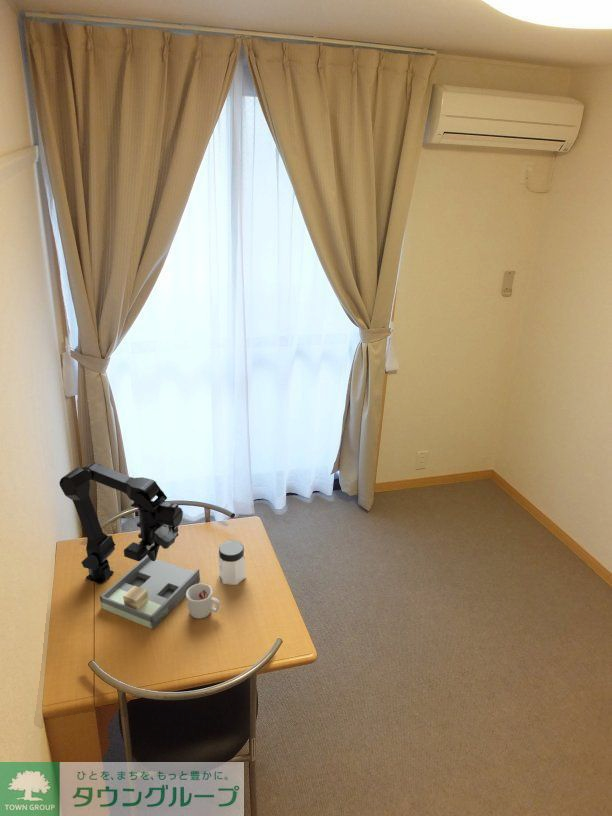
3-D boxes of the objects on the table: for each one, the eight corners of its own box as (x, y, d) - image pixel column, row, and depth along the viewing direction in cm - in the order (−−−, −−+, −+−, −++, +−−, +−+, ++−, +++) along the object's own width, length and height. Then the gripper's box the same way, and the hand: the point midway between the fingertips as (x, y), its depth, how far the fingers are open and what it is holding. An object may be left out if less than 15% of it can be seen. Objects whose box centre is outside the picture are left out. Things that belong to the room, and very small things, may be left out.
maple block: (124, 605, 167) (123, 595, 165) (135, 595, 171) (134, 585, 170) (137, 611, 165) (136, 600, 163) (148, 600, 169) (147, 590, 168)
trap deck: (101, 608, 169) (99, 596, 167) (151, 562, 189) (150, 552, 188) (153, 629, 162) (151, 617, 160) (199, 579, 182) (199, 569, 180)
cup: (226, 609, 170) (225, 589, 167) (214, 627, 163) (212, 606, 160) (195, 600, 173) (194, 580, 170) (182, 618, 166) (180, 597, 163)
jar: (217, 571, 186) (215, 542, 181) (240, 565, 189) (239, 537, 184) (224, 588, 179) (222, 558, 174) (247, 582, 181) (247, 552, 177)
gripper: (150, 543, 156) (155, 586, 162) (189, 510, 171) (192, 550, 177) (119, 533, 160) (125, 575, 166) (160, 501, 176) (164, 541, 182)
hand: (153, 560), depth 173 cm, fingers closed
